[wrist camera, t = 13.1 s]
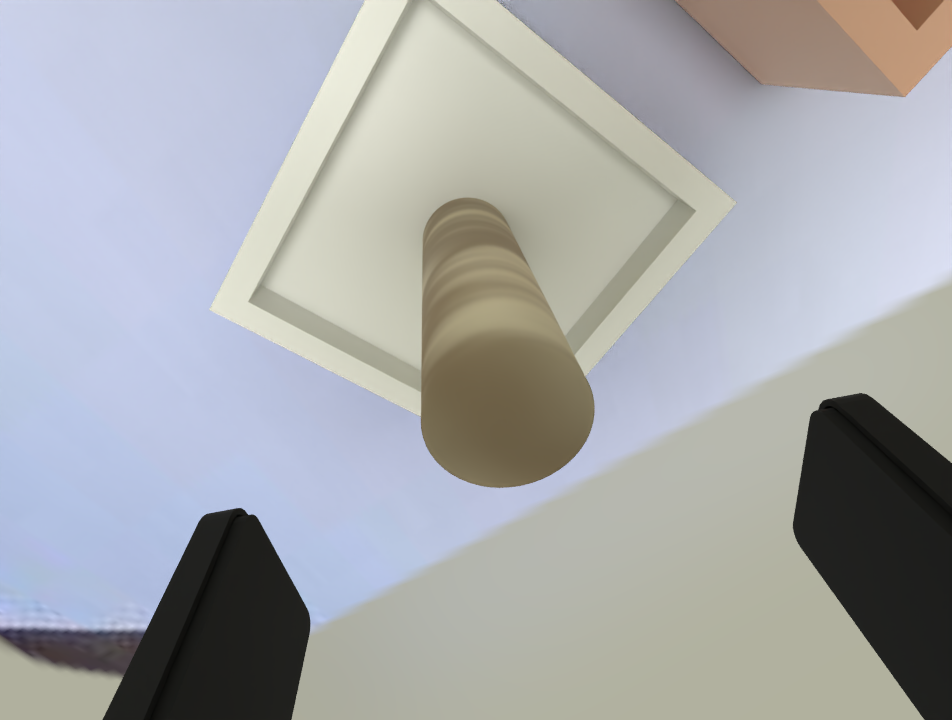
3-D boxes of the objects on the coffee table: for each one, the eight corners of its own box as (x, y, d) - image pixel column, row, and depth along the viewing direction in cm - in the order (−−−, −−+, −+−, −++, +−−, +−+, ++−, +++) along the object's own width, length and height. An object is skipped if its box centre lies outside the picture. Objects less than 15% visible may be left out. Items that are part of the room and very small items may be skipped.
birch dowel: (454, 178, 24) (487, 309, 11) (528, 230, 25) (630, 396, 13) (405, 255, 25) (387, 444, 13) (478, 299, 26) (525, 509, 14)
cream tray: (406, -62, 20) (403, -78, 18) (709, 189, 25) (736, 202, 23) (228, 287, 26) (209, 309, 23) (504, 432, 31) (510, 462, 29)
